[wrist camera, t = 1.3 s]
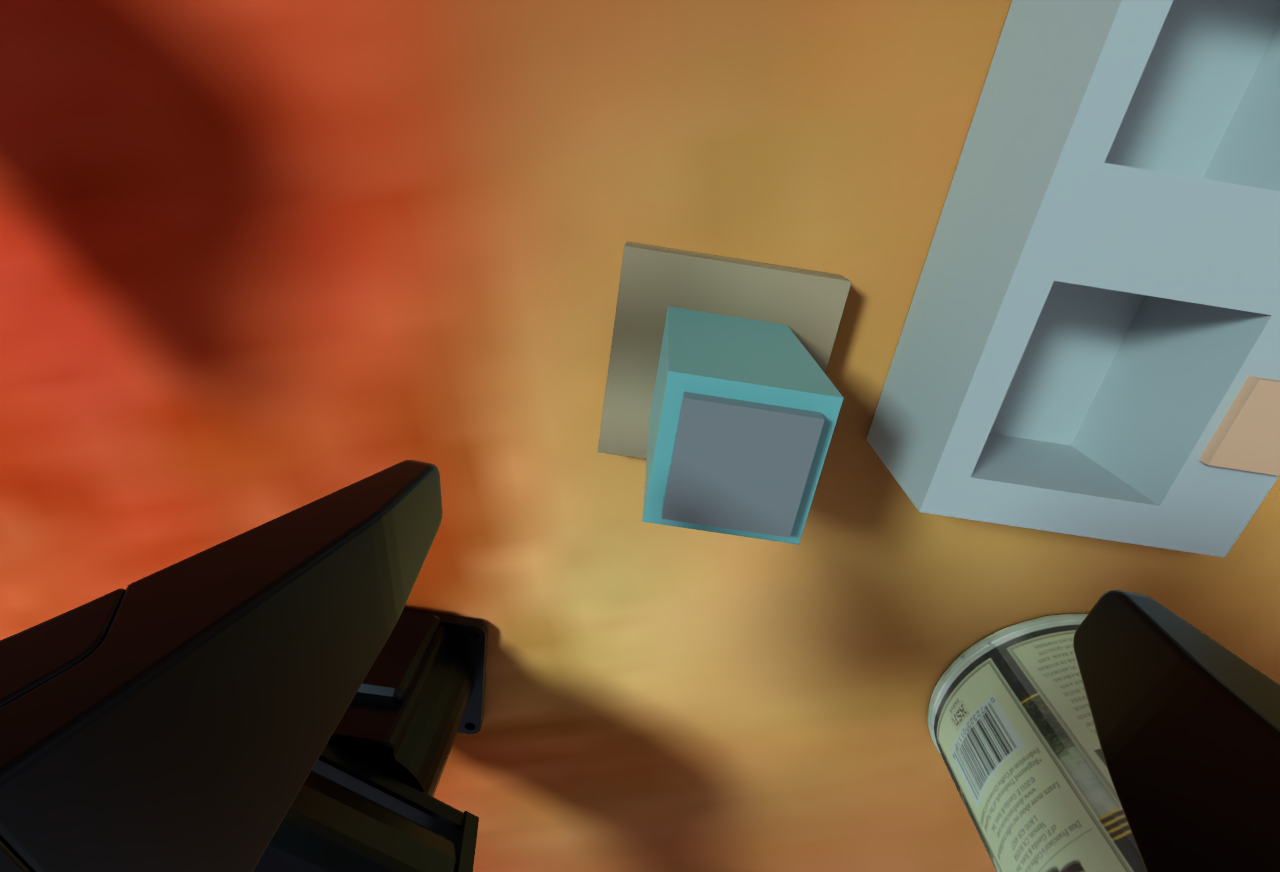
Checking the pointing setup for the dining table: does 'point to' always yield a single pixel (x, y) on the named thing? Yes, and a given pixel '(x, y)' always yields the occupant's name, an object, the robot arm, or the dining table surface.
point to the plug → (736, 427)
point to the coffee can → (1031, 753)
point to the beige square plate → (705, 287)
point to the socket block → (1104, 283)
